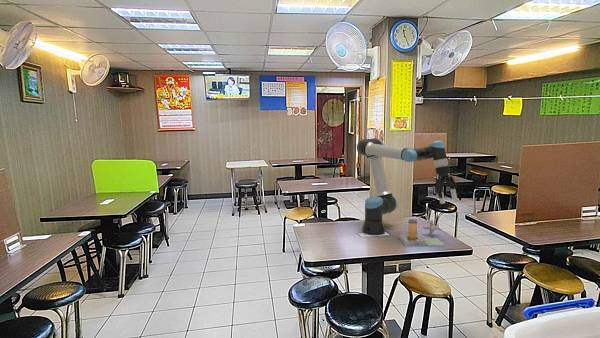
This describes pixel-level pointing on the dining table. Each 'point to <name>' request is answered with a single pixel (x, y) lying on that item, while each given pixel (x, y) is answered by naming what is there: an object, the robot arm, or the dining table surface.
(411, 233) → the orange tall cylinder
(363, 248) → the dining table surface
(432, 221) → the pipe connector
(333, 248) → the dining table surface
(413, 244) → the housing
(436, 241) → the mat
